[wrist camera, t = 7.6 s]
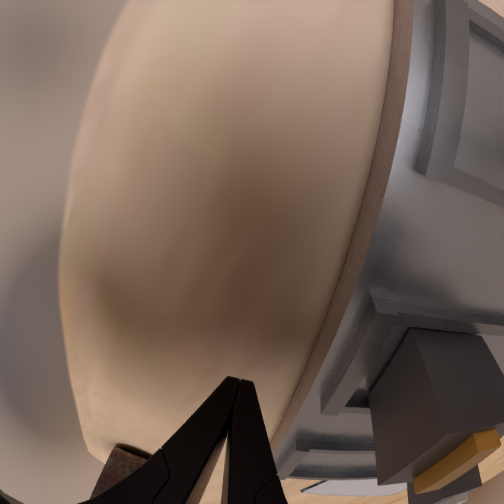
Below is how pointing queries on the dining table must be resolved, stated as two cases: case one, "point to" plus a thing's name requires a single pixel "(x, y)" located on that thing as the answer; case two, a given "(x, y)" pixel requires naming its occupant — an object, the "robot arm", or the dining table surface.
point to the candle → (117, 469)
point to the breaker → (448, 490)
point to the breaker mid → (436, 409)
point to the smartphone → (354, 488)
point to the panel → (412, 234)
